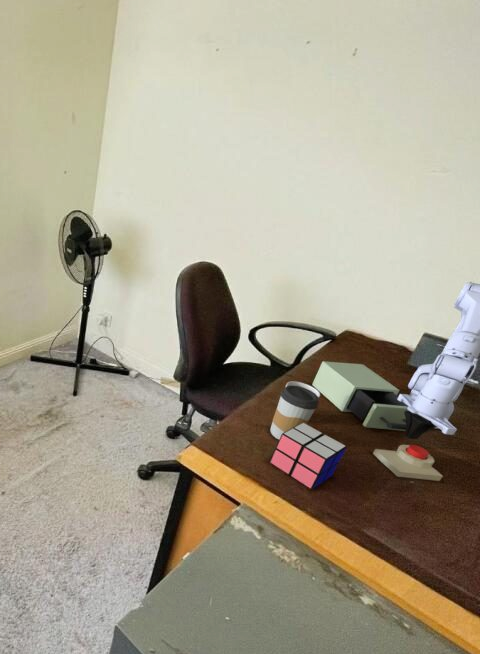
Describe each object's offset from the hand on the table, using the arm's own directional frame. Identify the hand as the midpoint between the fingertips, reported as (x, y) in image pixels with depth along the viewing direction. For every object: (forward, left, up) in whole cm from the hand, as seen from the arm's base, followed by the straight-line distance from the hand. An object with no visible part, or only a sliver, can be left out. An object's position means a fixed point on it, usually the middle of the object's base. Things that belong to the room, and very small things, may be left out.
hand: (410, 437), depth 113 cm
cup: (+24, -10, -4) cm, 26 cm away
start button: (+3, +6, -1) cm, 7 cm away
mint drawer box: (0, -22, -4) cm, 22 cm away
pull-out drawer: (0, -11, -3) cm, 12 cm away
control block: (+6, +8, -4) cm, 11 cm away
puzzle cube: (+35, +13, -4) cm, 37 cm away
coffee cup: (+32, 0, -4) cm, 32 cm away
